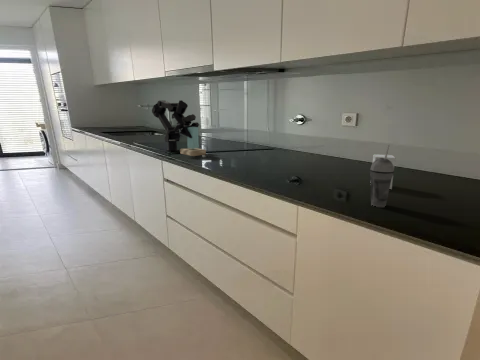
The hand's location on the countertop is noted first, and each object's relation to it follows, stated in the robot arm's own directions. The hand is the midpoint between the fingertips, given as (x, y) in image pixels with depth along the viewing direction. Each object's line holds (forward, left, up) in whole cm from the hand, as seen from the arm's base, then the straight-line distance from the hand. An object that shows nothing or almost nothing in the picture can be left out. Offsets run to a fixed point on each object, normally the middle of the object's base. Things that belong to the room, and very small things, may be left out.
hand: (194, 137), depth 208 cm
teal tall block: (-1, 0, -7) cm, 7 cm away
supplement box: (+117, +6, -11) cm, 118 cm away
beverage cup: (+127, -18, -11) cm, 129 cm away
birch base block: (-2, 0, -11) cm, 11 cm away
